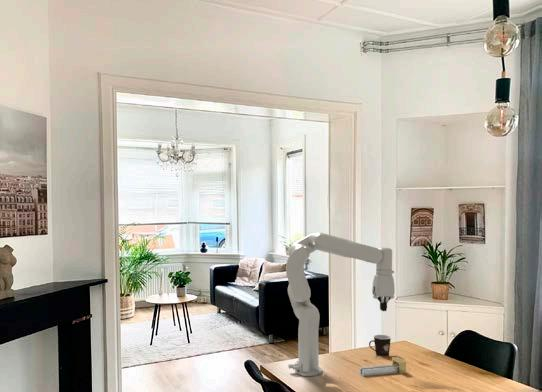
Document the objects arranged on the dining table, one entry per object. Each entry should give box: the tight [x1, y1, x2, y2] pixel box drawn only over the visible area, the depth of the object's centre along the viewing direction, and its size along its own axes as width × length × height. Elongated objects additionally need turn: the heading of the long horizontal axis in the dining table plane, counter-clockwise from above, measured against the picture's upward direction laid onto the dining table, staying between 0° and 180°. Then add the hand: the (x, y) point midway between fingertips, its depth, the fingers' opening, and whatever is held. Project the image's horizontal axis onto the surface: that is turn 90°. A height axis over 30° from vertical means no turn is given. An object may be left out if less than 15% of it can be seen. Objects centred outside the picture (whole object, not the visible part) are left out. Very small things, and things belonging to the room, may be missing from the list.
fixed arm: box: [361, 366, 400, 377], centre depth 193 cm, size 20×1×2 cm, turn 105°
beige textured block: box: [391, 356, 407, 375], centre depth 196 cm, size 3×7×5 cm, turn 15°
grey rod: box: [358, 363, 399, 375], centre depth 195 cm, size 21×2×3 cm, turn 104°
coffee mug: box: [368, 334, 392, 357], centre depth 221 cm, size 12×9×10 cm
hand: (383, 310), depth 206 cm, fingers closed
